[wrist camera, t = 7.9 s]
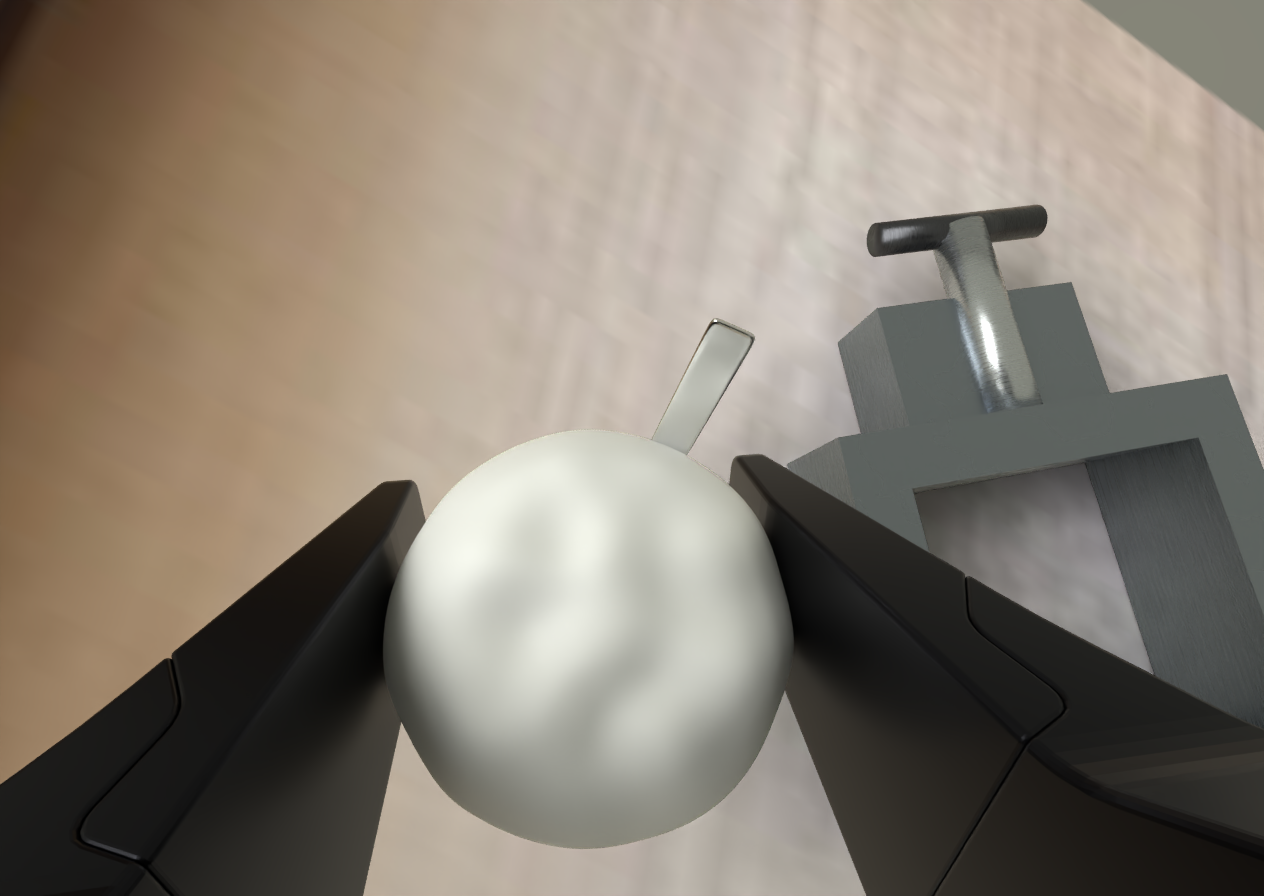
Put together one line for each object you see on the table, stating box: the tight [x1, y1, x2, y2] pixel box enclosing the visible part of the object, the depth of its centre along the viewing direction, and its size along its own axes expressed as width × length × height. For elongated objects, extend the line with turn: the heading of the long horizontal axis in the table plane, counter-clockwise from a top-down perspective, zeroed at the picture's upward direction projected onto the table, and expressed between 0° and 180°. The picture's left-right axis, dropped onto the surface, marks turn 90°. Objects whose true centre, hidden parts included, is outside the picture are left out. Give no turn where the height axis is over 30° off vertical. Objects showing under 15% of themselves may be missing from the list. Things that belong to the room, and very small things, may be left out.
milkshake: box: [383, 318, 794, 849], centre depth 10 cm, size 4×5×10 cm
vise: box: [788, 205, 1264, 729], centre depth 16 cm, size 17×11×4 cm, turn 10°
